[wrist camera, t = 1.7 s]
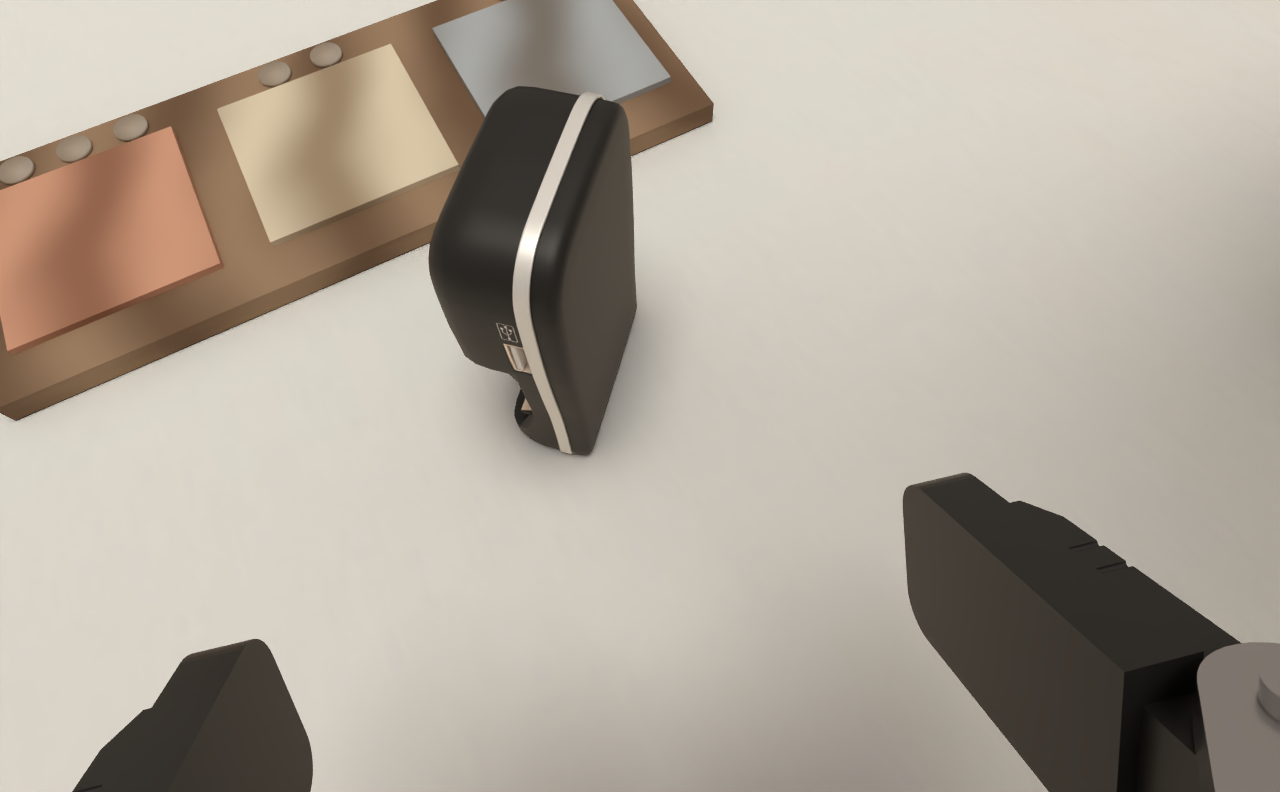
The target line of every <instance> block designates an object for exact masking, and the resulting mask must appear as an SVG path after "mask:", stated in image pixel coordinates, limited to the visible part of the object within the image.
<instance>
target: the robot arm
mask: <svg viewBox="0 0 1280 792" xmlns="http://www.w3.org/2000/svg"><path fill="white" fill-rule="evenodd" d="M903 517H904V534H905V551H906V568H907V584H908V594H909V599H910V603H911V606H912V610H913V613H914V615H915V618H916V620H917V622H918V625H919V627H920V629H921V630H922V632H923V634H924V635H925V637H926V638H927V640H928V641H929V642H930V643H931V645H932V646H933V647H934V648H935V650H936V651H937V652H938V653H939V655H940V656H941V657H942V658H943V660H944V661H945V662H946V663H947V665H948V666H949V667H950V668H951V670H952V671H953V672H954V673H955V675H956V676H957V677H958V678H959V680H960V681H961V682H962V683H963V685H964V686H965V687H966V688H967V690H968V691H969V692H970V693H971V695H972V696H973V697H974V698H975V700H976V701H977V702H978V703H979V705H980V706H981V707H982V708H983V710H984V711H985V712H986V713H987V715H988V716H989V717H990V718H991V720H992V721H993V722H994V723H995V725H996V726H997V727H998V728H999V730H1000V731H1001V732H1002V733H1003V735H1004V736H1005V737H1006V738H1007V740H1008V741H1009V742H1010V743H1011V745H1012V746H1013V747H1014V748H1015V750H1016V751H1017V752H1018V753H1019V755H1020V756H1021V757H1022V758H1023V760H1024V761H1025V762H1026V763H1027V765H1028V766H1029V767H1030V768H1031V770H1032V771H1033V772H1034V773H1035V775H1036V776H1037V777H1038V778H1039V780H1040V781H1041V782H1042V783H1043V785H1044V786H1045V787H1046V788H1047V790H1048V791H1049V792H1280V644H1275V643H1240V642H1239V641H1238V640H1236V639H1235V638H1233V637H1232V636H1230V635H1229V634H1228V633H1226V632H1225V631H1223V630H1222V629H1221V628H1219V627H1218V626H1216V625H1215V624H1214V623H1212V622H1211V621H1209V620H1208V619H1207V618H1205V617H1204V616H1202V615H1201V614H1200V613H1198V612H1197V611H1195V610H1194V609H1193V608H1191V607H1190V606H1188V605H1187V604H1185V603H1184V602H1183V601H1181V600H1180V599H1178V598H1177V597H1176V596H1174V595H1173V594H1171V593H1170V592H1169V591H1167V590H1166V589H1164V588H1163V587H1162V586H1160V585H1159V584H1157V583H1156V582H1155V581H1153V580H1152V579H1150V578H1149V577H1148V576H1146V575H1145V574H1143V573H1142V572H1140V571H1139V570H1138V569H1136V568H1135V567H1133V566H1132V567H1128V566H1127V565H1126V561H1125V560H1124V559H1122V558H1121V557H1119V556H1118V555H1117V554H1115V553H1114V552H1112V551H1111V550H1110V549H1108V548H1107V547H1105V546H1099V545H1098V543H1097V540H1095V539H1094V538H1093V537H1091V536H1090V535H1088V534H1087V533H1086V532H1084V531H1083V530H1081V529H1080V528H1079V527H1077V526H1076V525H1074V524H1073V523H1072V522H1070V521H1069V520H1067V519H1066V518H1065V517H1063V516H1060V515H1057V514H1055V513H1052V512H1049V511H1046V510H1044V509H1041V508H1038V507H1036V506H1033V505H1030V504H1028V503H1025V502H1022V501H1016V502H1012V503H1009V502H1008V501H1006V500H1005V499H1004V498H1002V497H1001V496H1000V495H998V494H997V493H996V492H995V491H993V490H992V489H991V488H989V487H988V486H987V485H985V484H984V483H983V482H981V481H980V480H979V479H977V478H976V477H975V476H973V475H972V474H969V473H961V474H957V475H952V476H948V477H944V478H940V479H936V480H931V481H927V482H923V483H919V484H914V485H910V486H908V487H907V488H906V490H905V492H904V495H903ZM312 776H313V762H312V752H311V747H310V743H309V739H308V736H307V734H306V731H305V729H304V726H303V724H302V722H301V720H300V717H299V715H298V713H297V710H296V708H295V706H294V703H293V701H292V699H291V696H290V694H289V692H288V689H287V687H286V685H285V682H284V680H283V678H282V675H281V673H280V671H279V669H278V666H277V664H276V662H275V659H274V657H273V655H272V653H271V651H270V649H269V648H268V646H267V645H266V644H265V643H264V642H263V641H261V640H259V639H252V640H248V641H244V642H239V643H235V644H231V645H227V646H222V647H218V648H214V649H210V650H205V651H201V652H197V653H193V654H190V655H188V656H186V657H185V658H184V659H183V660H182V662H181V663H180V664H179V666H178V667H177V669H176V671H175V672H174V674H173V675H172V677H171V678H170V680H169V682H168V683H167V685H166V686H165V688H164V689H163V691H162V693H161V694H160V696H159V697H158V699H157V700H156V702H155V703H154V705H153V707H152V708H150V709H146V710H143V711H142V712H141V713H140V714H139V715H138V716H136V717H135V718H134V719H133V720H132V721H131V722H130V723H129V724H128V725H127V726H126V727H125V728H124V729H123V730H121V731H120V732H119V733H118V734H117V735H116V736H115V737H114V738H113V739H112V740H111V741H110V742H109V743H107V744H106V745H105V746H104V747H103V748H102V749H101V750H100V752H99V753H98V755H97V756H96V757H95V759H94V760H93V762H92V763H91V765H90V766H89V768H88V769H87V771H86V772H85V774H84V775H83V777H82V778H81V780H80V781H79V783H78V784H77V786H76V787H75V789H74V790H73V791H72V792H310V790H311V785H312Z"/></svg>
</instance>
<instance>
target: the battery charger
mask: <svg viewBox="0 0 1280 792" xmlns="http://www.w3.org/2000/svg"><path fill="white" fill-rule="evenodd" d="M429 271H430V276H431V280H432V283H433V286H434V289H435V292H436V294H437V297H438V300H439V302H440V305H441V307H442V310H443V312H444V315H445V317H446V319H447V322H448V324H449V326H450V328H451V330H452V332H453V334H454V335H455V337H456V339H457V341H458V343H459V345H460V347H461V349H462V351H463V353H464V355H465V356H466V357H467V358H469V359H470V360H471V361H473V362H474V363H476V364H478V365H481V366H484V367H486V368H489V369H492V370H496V371H501V372H505V373H509V374H510V375H511V376H512V377H513V378H514V379H515V380H516V381H518V383H519V385H520V387H521V390H520V393H519V395H518V398H517V402H516V406H515V418H516V422H517V424H518V426H519V428H520V429H521V430H522V431H523V432H524V433H525V434H526V435H527V436H529V437H530V438H532V439H534V440H536V441H538V442H540V443H542V444H544V445H547V446H551V447H555V448H559V449H560V451H561V452H565V453H569V454H572V453H573V452H575V453H579V454H587V453H589V452H590V451H591V450H592V448H593V446H594V443H595V440H596V436H597V433H598V430H599V427H600V424H601V421H602V418H603V415H604V412H605V408H606V405H607V402H608V399H609V396H610V393H611V389H612V386H613V383H614V380H615V377H616V374H617V370H618V367H619V364H620V361H621V358H622V354H623V351H624V348H625V345H626V341H627V338H628V335H629V332H630V329H631V325H632V322H633V319H634V315H635V312H636V308H637V303H636V285H635V264H634V217H633V187H632V166H631V148H630V133H629V124H628V119H627V116H626V113H625V110H624V108H623V107H622V106H621V105H620V104H618V103H615V102H612V101H608V100H605V98H604V97H603V96H602V95H601V94H596V93H590V92H585V93H583V94H581V95H575V94H570V93H565V92H559V91H554V90H549V89H543V88H538V87H528V86H517V87H514V88H511V89H508V90H506V91H505V92H504V93H503V94H502V95H501V96H500V97H498V98H497V99H496V100H495V101H494V102H493V104H492V105H491V107H490V109H489V111H488V112H487V114H486V116H485V119H484V121H483V123H482V125H481V127H480V129H479V131H478V133H477V135H476V137H475V139H474V141H473V143H472V145H471V147H470V150H469V152H468V154H467V156H466V158H465V160H464V162H463V164H462V166H461V169H460V171H459V173H458V175H457V178H456V180H455V182H454V184H453V187H452V189H451V191H450V193H449V195H448V198H447V200H446V202H445V204H444V207H443V209H442V211H441V213H440V216H439V218H438V221H437V223H436V226H435V228H434V231H433V235H432V238H431V242H430V249H429Z"/></svg>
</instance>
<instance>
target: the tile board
mask: <svg viewBox="0 0 1280 792" xmlns="http://www.w3.org/2000/svg"><path fill="white" fill-rule="evenodd" d="M517 86H528V87H538V88H543V89H549V90H554V91H559V92H565V93H570V94H575V95H581V94H583V93H585V92H590V93H596V94H601V95H602V96H603V97H604V98H605V100H608V101H612V102H615V103H618V104H620V105H621V106H622V107H623V108H624V110H625V113H626V116H627V119H628V124H629V133H630V148H631V156H632V155H634V154H636V153H639V152H641V151H643V150H646V149H648V148H650V147H653V146H655V145H657V144H660V143H662V142H664V141H667V140H669V139H671V138H674V137H676V136H678V135H680V134H683V133H685V132H687V131H690V130H692V129H694V128H697V127H699V126H701V125H704V124H706V123H708V122H711V121H712V116H713V105H714V103H713V102H712V101H711V100H710V98H709V97H708V96H707V95H706V93H705V92H704V91H703V89H702V88H701V87H700V86H699V84H698V83H697V82H696V80H695V79H694V78H693V77H692V75H691V74H690V73H689V71H688V70H687V69H686V68H685V66H684V65H683V64H682V62H681V61H680V60H679V59H678V57H677V56H676V55H675V53H674V52H673V51H672V50H671V48H670V47H669V46H668V45H667V43H666V42H665V41H664V39H663V38H662V37H661V36H660V34H659V33H658V32H657V30H656V29H655V28H654V27H653V25H652V24H651V23H650V21H649V20H648V19H647V18H646V16H645V15H644V14H643V12H642V11H641V10H640V9H639V7H638V6H637V5H636V3H635V2H634V1H633V0H437V1H434V2H431V3H429V4H426V5H423V6H420V7H418V8H415V9H412V10H410V11H407V12H404V13H401V14H399V15H396V16H393V17H391V18H388V19H385V20H383V21H380V22H377V23H374V24H372V25H369V26H366V27H364V28H361V29H358V30H355V31H353V32H350V33H347V34H345V35H342V36H339V37H336V38H334V39H331V40H328V41H326V42H323V43H320V44H317V45H315V46H312V47H309V48H307V49H304V50H301V51H299V52H296V53H293V54H290V55H288V56H285V57H282V58H280V59H277V60H274V61H271V62H269V63H266V64H263V65H261V66H258V67H255V68H252V69H250V70H247V71H244V72H242V73H239V74H236V75H233V76H231V77H228V78H225V79H223V80H220V81H217V82H214V83H212V84H209V85H206V86H204V87H201V88H198V89H196V90H193V91H190V92H187V93H185V94H182V95H179V96H177V97H174V98H171V99H168V100H166V101H163V102H160V103H158V104H155V105H152V106H149V107H147V108H144V109H141V110H139V111H136V112H133V113H130V114H128V115H125V116H122V117H120V118H117V119H114V120H111V121H109V122H106V123H103V124H101V125H98V126H95V127H93V128H90V129H87V130H84V131H82V132H79V133H76V134H74V135H71V136H68V137H65V138H63V139H60V140H57V141H55V142H52V143H49V144H46V145H44V146H41V147H38V148H36V149H33V150H30V151H27V152H25V153H22V154H19V155H17V156H14V157H11V158H8V159H6V160H3V161H0V413H1V414H3V415H5V416H7V417H9V418H11V419H13V420H15V421H16V420H18V419H20V418H23V417H25V416H27V415H30V414H32V413H34V412H37V411H39V410H41V409H43V408H46V407H48V406H50V405H53V404H55V403H57V402H60V401H62V400H64V399H67V398H69V397H71V396H74V395H76V394H78V393H81V392H83V391H85V390H88V389H90V388H92V387H95V386H97V385H99V384H102V383H104V382H106V381H109V380H111V379H113V378H116V377H118V376H120V375H123V374H125V373H127V372H130V371H132V370H134V369H136V368H139V367H141V366H143V365H146V364H148V363H150V362H153V361H155V360H157V359H160V358H162V357H164V356H167V355H169V354H171V353H174V352H176V351H178V350H181V349H183V348H185V347H188V346H190V345H192V344H195V343H197V342H199V341H202V340H204V339H206V338H209V337H211V336H213V335H216V334H218V333H220V332H223V331H225V330H227V329H229V328H232V327H234V326H236V325H239V324H241V323H243V322H246V321H248V320H250V319H253V318H255V317H257V316H260V315H262V314H264V313H267V312H269V311H271V310H274V309H276V308H278V307H281V306H283V305H285V304H288V303H290V302H292V301H295V300H297V299H299V298H302V297H304V296H306V295H309V294H311V293H313V292H316V291H318V290H320V289H322V288H325V287H327V286H329V285H332V284H334V283H336V282H339V281H341V280H343V279H346V278H348V277H350V276H353V275H355V274H357V273H360V272H362V271H364V270H367V269H369V268H371V267H374V266H376V265H378V264H381V263H383V262H385V261H388V260H390V259H392V258H395V257H397V256H399V255H402V254H404V253H406V252H408V251H411V250H413V249H415V248H418V247H420V246H422V245H425V244H427V243H429V242H431V238H432V235H433V231H434V228H435V226H436V223H437V221H438V218H439V216H440V213H441V211H442V209H443V207H444V204H445V202H446V200H447V198H448V195H449V193H450V191H451V189H452V187H453V184H454V182H455V180H456V178H457V175H458V173H459V171H460V169H461V166H462V164H463V162H464V160H465V158H466V156H467V154H468V152H469V150H470V147H471V145H472V143H473V141H474V139H475V137H476V135H477V133H478V131H479V129H480V127H481V125H482V123H483V121H484V119H485V116H486V114H487V112H488V111H489V109H490V107H491V105H492V104H493V102H494V101H495V100H496V99H497V98H498V97H500V96H501V95H502V94H503V93H504V92H505V91H506V90H508V89H511V88H514V87H517Z"/></svg>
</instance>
